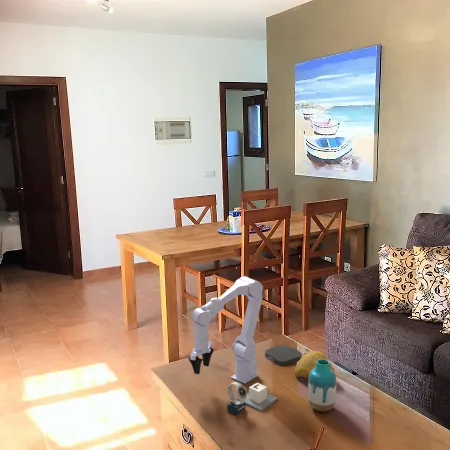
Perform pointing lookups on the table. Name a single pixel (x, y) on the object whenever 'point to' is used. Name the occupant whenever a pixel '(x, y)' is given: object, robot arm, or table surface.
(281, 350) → the media streaming box
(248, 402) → the mat
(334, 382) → the vase
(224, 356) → the table surface
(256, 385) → the letter cube
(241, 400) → the watch
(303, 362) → the decorative stone
